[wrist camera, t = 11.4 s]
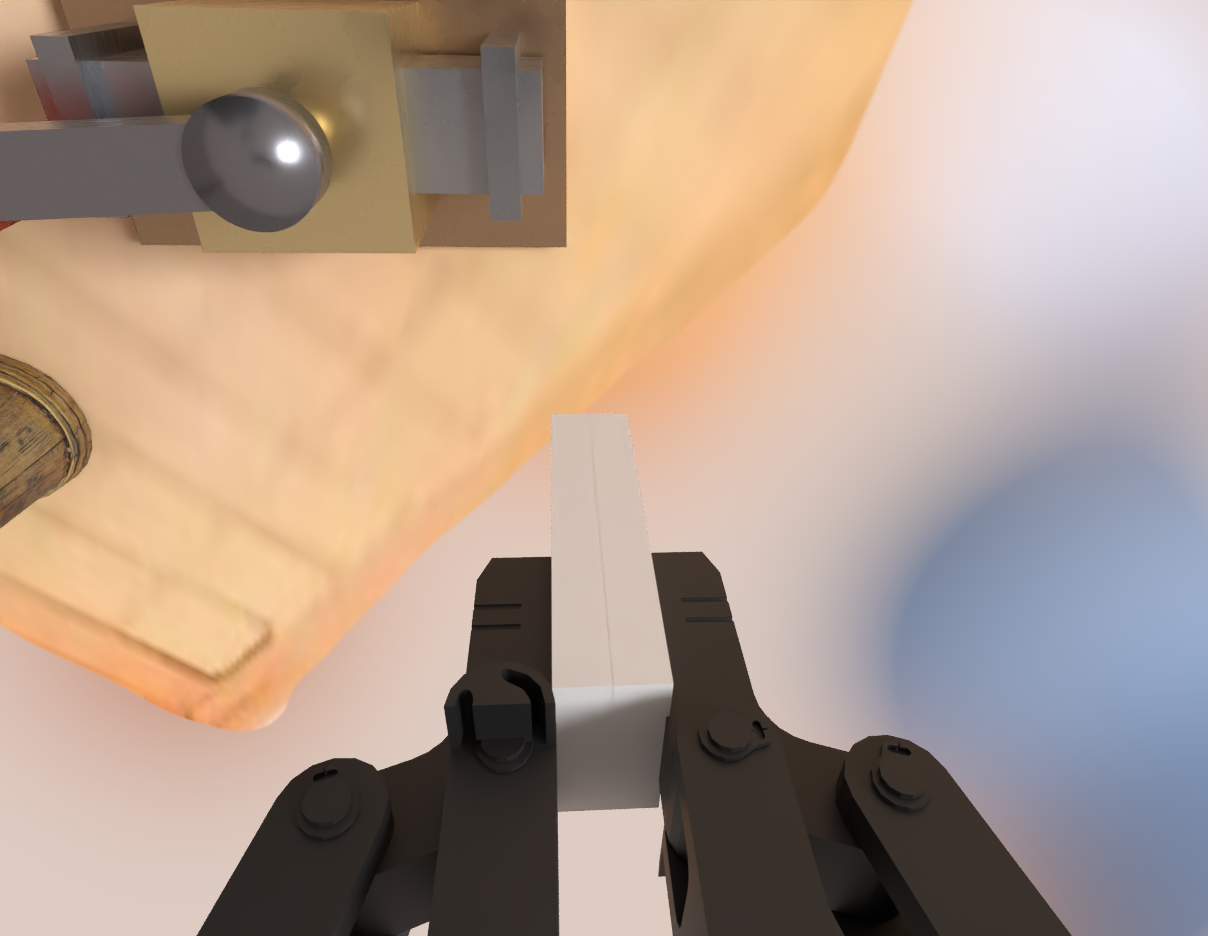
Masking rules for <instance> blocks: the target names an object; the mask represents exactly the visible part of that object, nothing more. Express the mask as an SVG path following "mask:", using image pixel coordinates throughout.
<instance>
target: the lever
mask: <svg viewBox="0 0 1208 936" xmlns="http://www.w3.org/2000/svg"><path fill="white" fill-rule="evenodd" d="M332 171H333V159H332V153H331V149H330V145H329V142H328V140H327V137H326V135H325V133H324V131H323V129H322V128H321V126H320V124H319V123H318V122H317V120H316V119H315V118H314V116H313V115H312V114H311V113H310V112H309V111H308V110H307V109H306V108H305V107H304V106H303V105H301V104H300V103H299V102H297V101H296V100H295V99H293V98H291V97H290V96H288V95H286V94H284V93H282V92H279V91H276V90H273V89H270V88H264V87H245V88H241V89H237V90H235V91H232V92H230V93H228V94H225V95H223V96H220V97H218V98H216V99H213V100H211V101H209V102H207V103H205V104H203V105H202V106H201V107H199V108H198V109H197V110H196V111H195V112H194V113H193V114H192V115H174V116H151V117H128V118H105V119H82V120H58V121H35V122H12V123H0V231H1V230H3V229H5V228H7V227H9V226H11V225H13V224H15V223H17V222H19V221H21V220H39V219H60V218H81V217H102V216H123V215H144V214H165V213H186V212H207V211H213V212H215V213H216V214H217V215H218V216H220V217H221V218H223V219H224V220H226V221H227V222H229V223H231V224H233V225H235V226H238V227H240V228H243V229H246V230H250V231H256V232H277V231H281V230H285V229H287V228H289V227H292V226H293V225H295V224H297V223H298V222H299V221H300V220H302V219H303V218H304V217H305V216H306V215H307V214H308V213H309V212H310V210H311V209H312V208H313V207H314V206H315V205H316V204H317V203H318V202H319V201H320V200H321V199H322V197H323V196H324V195H325V193H326V191H327V190H328V187H329V185H330V182H331V178H332Z"/></svg>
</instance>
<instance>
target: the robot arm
mask: <svg viewBox="0 0 1208 936" xmlns="http://www.w3.org/2000/svg"><path fill="white" fill-rule="evenodd" d="M551 535H552V536H551V539H552V540H551V542H552V543H551V548H552V551H551V552H552V557H523V558H492V559H491V561H490V562H489V564H488V565H487V566H486V568H485V569H484V571H483V572H482V574H481V575H480V576H479V578H478V579H477V584H476V593H475V602H474V611H473V619H472V631H471V636H470V637H471V638H470V645H469V654H468V662H467V671H466V674H464V675H463V676H462V677H461V678H460V679H459V680H458V682H457V683H456V684H455V685H454V686H453V687H452V688H451V689H450V692H449V694H448V697H447V700H446V702H445V705H444V710H445V717H446V723H447V729H448V736H447V737H446V738H445V739H444V740H443V741H442V742H441V743H440V744H439V745H437V746H436V747H434V748H433V749H432V750H430V751H429V752H427V753H425V754H423V755H421V756H418V757H416V758H414V759H412V760H409V761H406V762H403V763H400V764H397V765H394V766H391V767H388V768H385V769H382V770H379V771H377V770H376V769H375V767H373V765H370V764H368V763H366V762H363V761H361V760H358V759H356V758H334V759H331V760H328V761H325V762H322V763H318V764H316V765H312V766H311V767H309V768H308V769H306V770H305V771H304V772H302V773H301V774H300V775H298V776H296V777H295V778H293V779H292V780H291V781H290V782H289V784H288V785H287V786H286V787H285V789H284V790H283V791H282V792H281V794H280V795H279V796H278V797H277V799H276V800H275V802H274V804H273V806H272V807H271V809H270V811H269V812H268V814H267V816H266V818H265V819H264V821H263V823H262V824H261V826H260V828H259V830H258V831H257V833H256V835H255V836H254V838H253V840H252V842H251V843H250V845H249V847H248V848H247V850H246V852H245V854H244V856H243V857H242V859H241V861H240V862H239V864H238V866H237V868H236V869H235V871H234V872H233V874H232V876H231V878H230V879H229V881H228V883H227V885H226V886H225V888H224V890H223V891H222V893H221V895H220V897H219V899H218V900H217V902H216V903H215V905H214V907H213V909H212V910H211V912H210V914H209V916H208V917H207V919H206V921H205V922H204V924H203V926H202V928H201V929H200V931H199V933H198V935H197V936H408V935H409V932H410V929H412V928H414V927H417V926H419V925H421V924H424V923H426V922H429V929H428V936H559V880H558V812H561V811H562V812H563V811H584V810H607V809H630V808H654V807H659V799H660V794H661V801H662V809H663V816H664V831H663V838H662V847H661V854H660V861H659V876H666V883H667V891H668V899H669V907H670V915H671V923H672V931H673V936H1071V934H1070V933H1069V932H1068V930H1067V929H1066V928H1065V926H1064V925H1063V924H1062V922H1061V921H1060V920H1059V918H1058V917H1057V916H1056V914H1055V913H1054V912H1053V911H1052V909H1051V908H1050V907H1049V905H1048V904H1047V902H1046V901H1045V900H1044V899H1043V897H1042V896H1041V895H1040V893H1039V892H1038V891H1037V889H1036V888H1035V887H1034V885H1033V884H1032V883H1031V881H1030V880H1029V879H1028V877H1027V876H1026V875H1025V873H1024V872H1023V871H1022V869H1021V868H1020V867H1019V865H1018V864H1017V863H1016V862H1015V860H1014V859H1013V857H1012V856H1011V855H1010V854H1009V852H1008V851H1007V850H1006V848H1005V847H1004V846H1003V844H1002V843H1001V842H1000V840H999V839H998V838H997V836H996V835H995V834H994V832H993V831H992V830H991V828H990V827H989V826H988V824H987V823H986V822H985V820H984V819H983V818H982V817H981V815H980V814H979V812H978V811H977V810H976V809H975V807H974V806H973V804H972V803H971V802H970V801H969V799H968V798H967V797H966V795H965V794H964V793H963V791H962V790H961V789H960V787H959V786H958V785H957V783H956V782H955V781H954V779H953V778H952V777H951V776H950V774H949V773H948V771H947V770H946V769H945V768H944V767H943V766H942V765H941V764H940V763H939V762H938V761H937V760H936V759H935V758H934V757H933V756H932V755H931V754H930V753H929V752H928V751H926V750H925V749H923V748H921V747H919V746H918V745H916V744H914V743H912V742H911V741H909V740H905V739H901V738H897V737H894V736H889V735H881V736H868V737H867V738H865V739H863V740H861V741H859V742H857V743H855V744H854V745H853V746H852V748H851V750H850V751H849V752H846V751H842V750H838V749H835V748H831V747H826V746H823V745H819V744H815V743H811V742H808V741H805V740H802V739H800V738H797V737H794V736H792V735H791V734H789V733H787V732H785V731H784V730H782V729H780V728H779V727H778V726H777V725H776V724H774V723H773V722H772V721H771V720H770V719H769V718H768V717H767V716H766V715H765V714H764V712H763V711H762V709H761V708H760V707H759V705H758V703H757V700H756V698H755V696H754V693H753V690H752V686H751V682H750V679H749V675H748V671H747V668H746V664H745V661H744V657H743V653H742V650H741V646H740V643H739V639H738V636H737V632H736V629H735V625H734V622H733V621H732V614H731V611H730V607H729V603H728V602H727V596H726V593H725V589H724V585H723V582H722V578H721V575H720V572H719V571H718V570H717V569H716V567H715V566H714V565H713V564H712V563H711V562H710V560H709V559H708V558H707V557H706V556H705V555H704V554H703V552H670V553H669V552H668V553H651V550H650V544H649V538H648V532H647V526H646V520H645V515H644V509H643V503H642V498H641V491H640V486H639V480H638V474H637V468H636V462H635V457H634V450H633V445H632V439H631V433H630V428H629V421H628V415H627V414H551Z"/></svg>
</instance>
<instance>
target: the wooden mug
mask: <svg viewBox="0 0 1208 936" xmlns="http://www.w3.org/2000/svg"><path fill="white" fill-rule="evenodd" d="M91 451H92V440H91V431H90V429H89V426H88V424H87V421H86V419H85V416H84V414H83V412H82V411H81V410H80V408H79V407H78V406H77V404H76V403H75V401H74V400H73V399H72V397H71V396H70V395H69V394H68V393H67V392H66V391H65V390H64V389H63V388H62V387H61V386H60V385H58V384H57V383H56V382H55V381H54V380H53V379H52V378H50V377H49V376H47V375H45V374H44V373H42V372H40V371H39V370H37V369H35V368H33V367H32V366H30V365H28V364H25V363H22V362H20V361H17V360H14V359H12V358H9V357H6V356H4V355H0V528H2V527H3V526H4V525H5V524H7V523H8V522H9V521H11V520H12V519H13V518H14V517H16V516H17V515H18V514H20V513H21V512H22V511H23V510H25V509H26V508H27V507H28V506H30V505H31V504H32V503H34V502H35V501H36V500H37V499H40V498H43V497H46V496H49V495H50V494H52V493H53V492H55V491H56V490H58V489H59V488H61V487H62V486H63V485H65V484H66V483H67V482H69V481H70V480H72V479H73V478H74V477H76V476H77V475H78V474H79V473H80V472H81V471H82V469H83V468H84V467H85V466H86V465H87V463H88V460H89V457H90V454H91Z"/></svg>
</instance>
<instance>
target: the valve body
mask: <svg viewBox="0 0 1208 936" xmlns="http://www.w3.org/2000/svg"><path fill="white" fill-rule="evenodd" d="M60 2H61V5H62V8H63V11H64V14H65V17H66V20H67V23H68V26H69V29H70V30H64V31H57V32H50V33H44V34H37V35H30V37H31V40H32V43H33V46H34V48H35V51H36V54H37V57H35V58H30V59H26V61H27V64H28V67H29V70H30V72H31V75H32V78H33V80H34V83H35V86H36V88H37V91H38V94H39V97H40V99H41V102H42V105H43V107H44V110H45V113H46V115H47V118H48V121H58V120H82V119H105V118H128V117H151V116H174V115H192V114H193V113H194V112H195V111H196V110H197V109H198V108H199V107H201V106H202V105H203V104H205V103H207V102H209V101H211V100H213V99H216V98H218V97H220V96H223V95H225V94H228V93H230V92H232V91H235V90H237V89H241V88H245V87H264V88H270V89H273V90H276V91H279V92H282V93H284V94H286V95H288V96H290V97H291V98H293V99H295V100H296V101H297V102H299V103H300V104H301V105H303V106H304V107H305V108H306V109H307V110H308V111H309V112H310V113H311V114H312V115H313V116H314V118H315V119H316V120H317V122H318V123H319V124H320V126H321V128H322V129H323V131H324V133H325V135H326V137H327V140H328V142H329V145H330V149H331V153H332V159H333V171H332V178H331V182H330V185H329V187H328V190H327V191H326V193H325V195H324V196H323V197H322V199H321V200H320V201H319V202H318V203H317V204H316V205H315V206H314V207H313V208H312V209H311V210H310V212H309V213H308V214H307V215H306V216H305V217H304V218H303V219H302V220H300V221H299V222H298V223H297V224H295V225H293V226H292V227H289V228H287V229H285V230H281V231H277V232H256V231H250V230H246V229H243V228H240V227H238V226H235V225H233V224H231V223H229V222H227V221H226V220H224V219H223V218H221V217H220V216H218V215H217V214H216V213H215V212H213V211H207V212H186V213H165V214H144V215H132V218H133V221H134V224H135V227H136V230H137V233H138V236H139V239H140V242H141V245H202V248H203V252H274V253H416V251H417V249H418V247H419V246H458V247H566V0H60ZM129 216H131V215H123V216H102V217H129Z"/></svg>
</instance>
